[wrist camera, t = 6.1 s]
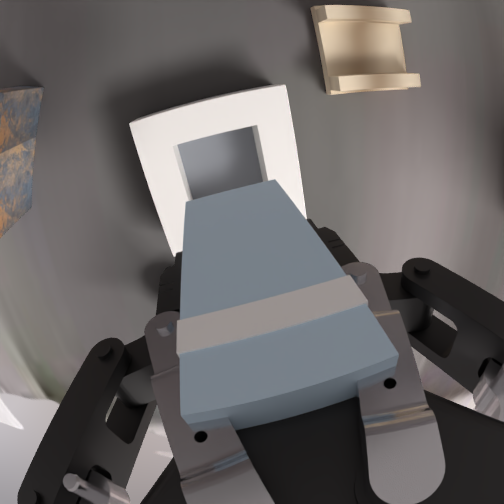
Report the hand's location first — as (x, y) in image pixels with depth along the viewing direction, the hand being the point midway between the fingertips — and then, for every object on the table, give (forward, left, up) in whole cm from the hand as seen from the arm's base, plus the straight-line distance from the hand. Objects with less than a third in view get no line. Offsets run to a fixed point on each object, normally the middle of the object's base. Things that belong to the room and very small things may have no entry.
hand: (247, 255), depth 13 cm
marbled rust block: (+17, -7, -16) cm, 24 cm away
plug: (0, 0, -2) cm, 2 cm away
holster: (-14, -8, -15) cm, 22 cm away
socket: (0, 0, -15) cm, 15 cm away
